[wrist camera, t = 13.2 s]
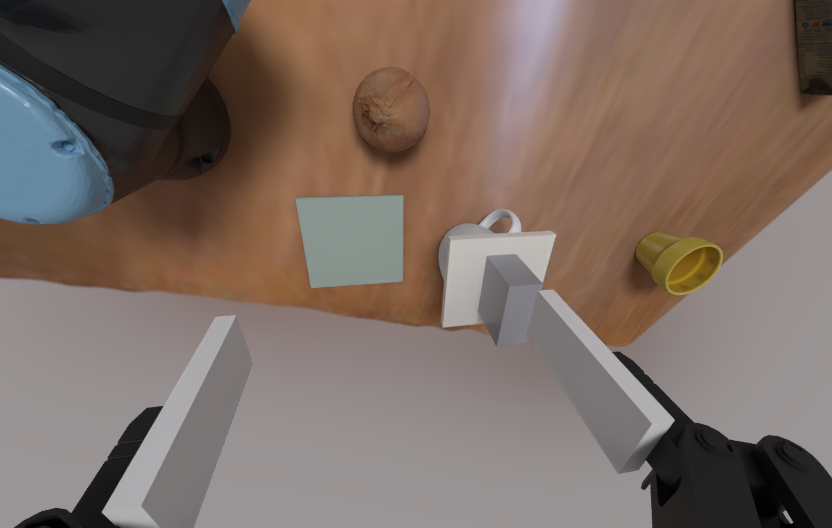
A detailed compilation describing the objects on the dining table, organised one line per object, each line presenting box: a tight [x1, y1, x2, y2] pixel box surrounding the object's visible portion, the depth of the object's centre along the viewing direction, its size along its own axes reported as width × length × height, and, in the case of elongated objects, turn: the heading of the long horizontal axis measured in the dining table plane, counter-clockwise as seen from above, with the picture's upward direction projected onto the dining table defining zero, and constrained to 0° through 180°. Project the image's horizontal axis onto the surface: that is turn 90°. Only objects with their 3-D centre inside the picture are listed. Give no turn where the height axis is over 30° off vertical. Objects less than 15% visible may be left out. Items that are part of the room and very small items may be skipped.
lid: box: [441, 231, 556, 346], centre depth 40 cm, size 14×14×8 cm
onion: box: [353, 67, 430, 152], centre depth 39 cm, size 10×9×10 cm
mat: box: [296, 195, 403, 288], centre depth 52 cm, size 16×16×1 cm
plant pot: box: [636, 232, 723, 295], centre depth 59 cm, size 10×10×10 cm
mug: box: [438, 209, 521, 280], centre depth 49 cm, size 15×11×13 cm
